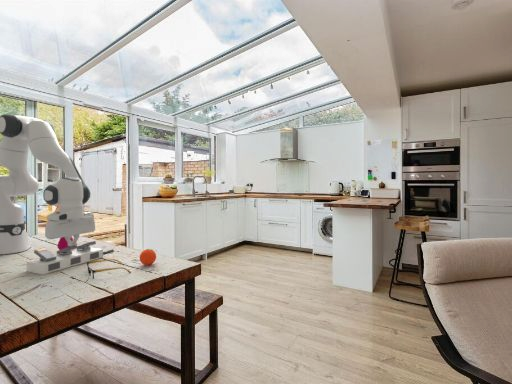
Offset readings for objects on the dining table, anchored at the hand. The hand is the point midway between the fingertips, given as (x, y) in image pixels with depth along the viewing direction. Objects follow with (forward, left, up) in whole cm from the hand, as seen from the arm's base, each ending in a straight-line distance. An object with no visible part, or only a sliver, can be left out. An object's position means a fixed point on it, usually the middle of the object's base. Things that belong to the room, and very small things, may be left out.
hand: (72, 245), depth 124 cm
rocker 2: (-4, 0, -2) cm, 4 cm away
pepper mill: (-19, +10, -9) cm, 23 cm away
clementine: (+30, +14, -9) cm, 34 cm away
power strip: (-3, +5, -8) cm, 10 cm away
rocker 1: (-4, -9, -2) cm, 10 cm away
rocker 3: (-4, +9, -2) cm, 10 cm away
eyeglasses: (+21, 0, -9) cm, 23 cm away
